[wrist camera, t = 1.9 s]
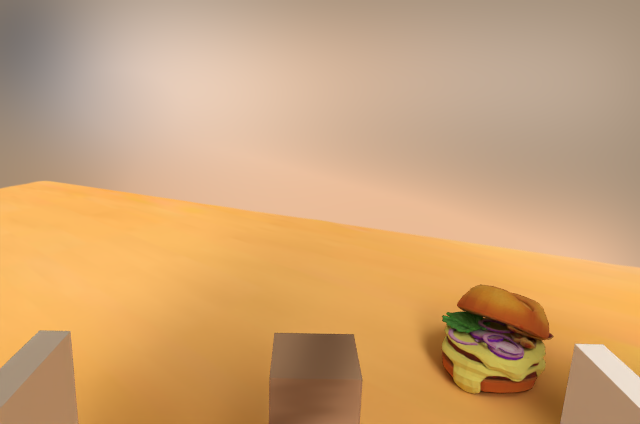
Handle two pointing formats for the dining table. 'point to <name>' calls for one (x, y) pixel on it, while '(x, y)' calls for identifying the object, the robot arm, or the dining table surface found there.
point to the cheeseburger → (495, 341)
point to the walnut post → (314, 379)
